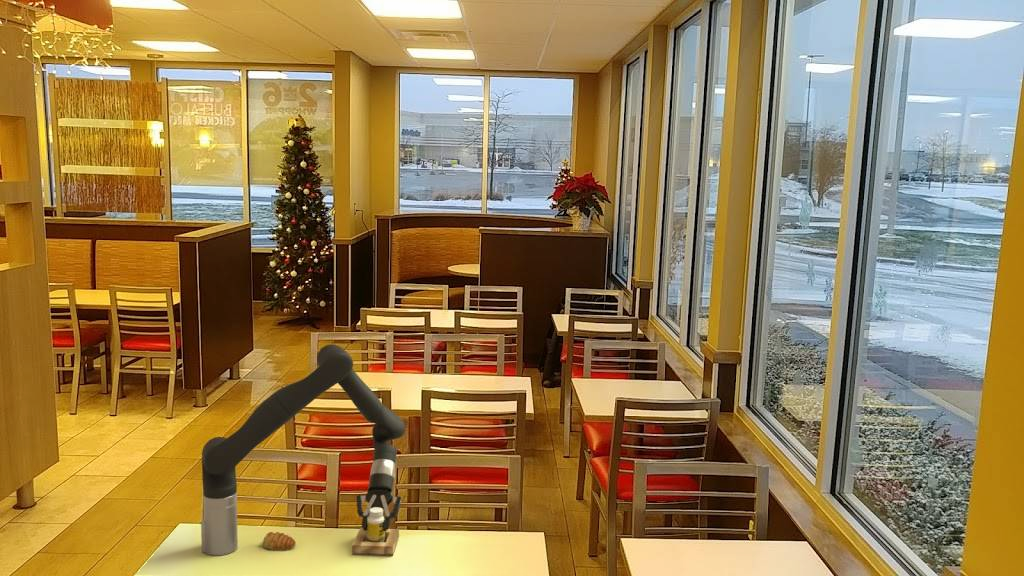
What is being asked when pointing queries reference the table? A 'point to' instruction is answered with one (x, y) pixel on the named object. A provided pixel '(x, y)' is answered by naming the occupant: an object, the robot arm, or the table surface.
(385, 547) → the can holder
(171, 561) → the table surface
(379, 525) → the supplement bottle
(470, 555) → the table surface
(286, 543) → the pastry
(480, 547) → the table surface
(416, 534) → the table surface
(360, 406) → the robot arm
